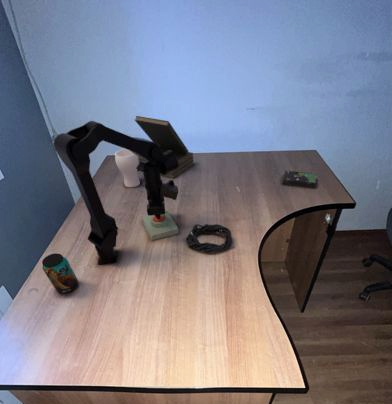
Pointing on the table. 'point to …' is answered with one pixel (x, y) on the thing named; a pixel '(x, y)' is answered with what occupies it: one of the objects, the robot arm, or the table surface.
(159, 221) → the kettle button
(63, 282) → the beverage can
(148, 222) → the green stepped base
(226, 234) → the cable
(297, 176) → the disk drive
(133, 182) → the white vase
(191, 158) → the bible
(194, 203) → the table surface
